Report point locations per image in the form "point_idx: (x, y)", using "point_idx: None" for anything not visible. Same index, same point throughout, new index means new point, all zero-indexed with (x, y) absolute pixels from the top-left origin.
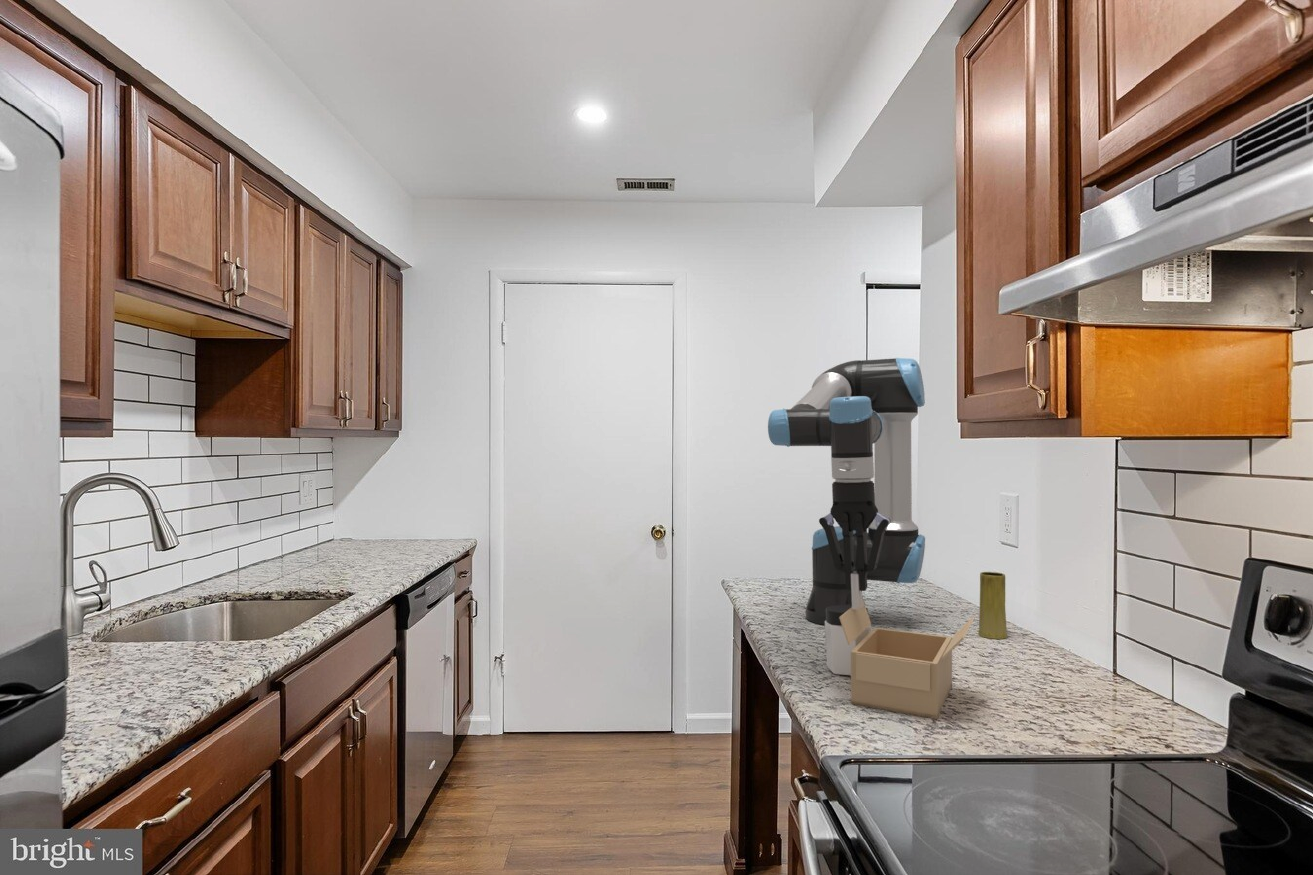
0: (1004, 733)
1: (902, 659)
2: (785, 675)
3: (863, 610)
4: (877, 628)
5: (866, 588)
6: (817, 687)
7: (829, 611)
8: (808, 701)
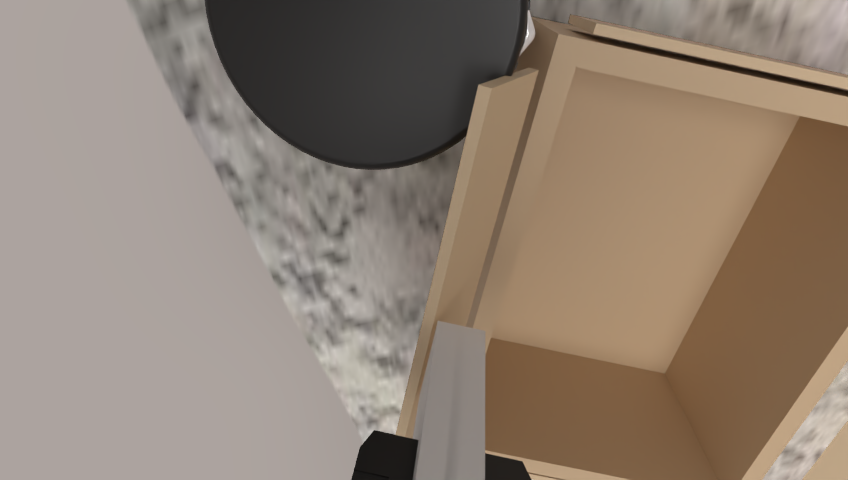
0: (819, 422)
1: None
2: (201, 140)
3: (491, 160)
4: (574, 53)
5: (524, 477)
6: (332, 229)
7: (254, 111)
8: (329, 340)
